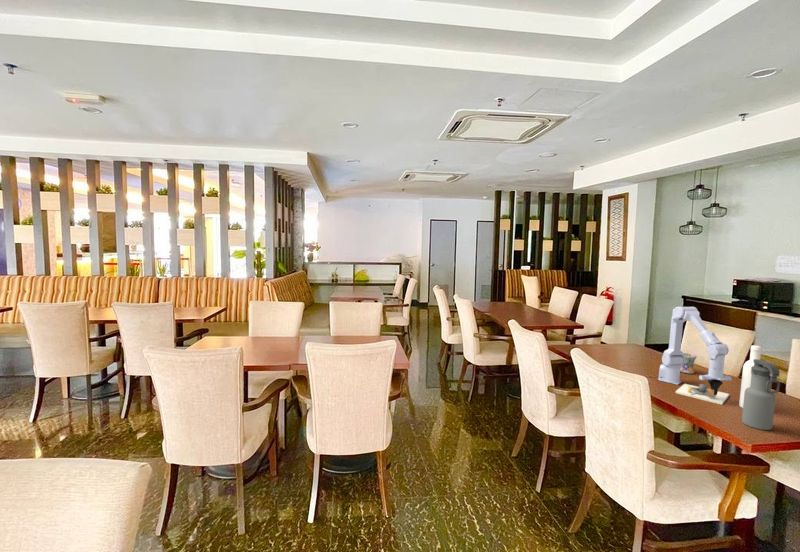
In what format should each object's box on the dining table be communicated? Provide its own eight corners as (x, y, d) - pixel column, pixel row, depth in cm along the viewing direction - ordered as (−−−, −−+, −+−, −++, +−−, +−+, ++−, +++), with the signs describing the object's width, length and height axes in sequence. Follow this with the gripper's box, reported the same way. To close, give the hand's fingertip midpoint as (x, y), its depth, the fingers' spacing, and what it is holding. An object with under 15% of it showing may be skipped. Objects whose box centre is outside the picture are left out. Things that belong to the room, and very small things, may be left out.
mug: (697, 375, 235) (699, 358, 234) (679, 373, 238) (681, 356, 237) (689, 369, 247) (691, 352, 246) (672, 367, 249) (674, 351, 249)
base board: (675, 393, 206) (676, 383, 205) (684, 385, 218) (685, 376, 217) (721, 404, 191) (722, 394, 191) (729, 395, 203) (729, 386, 203)
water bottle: (779, 430, 165) (786, 365, 163) (760, 432, 164) (767, 365, 161) (754, 419, 175) (760, 358, 173) (735, 421, 174) (741, 358, 171)
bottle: (763, 413, 183) (770, 349, 181) (741, 409, 187) (747, 346, 184) (758, 406, 190) (764, 345, 187) (737, 403, 194) (743, 343, 191)
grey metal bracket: (689, 388, 209) (690, 380, 209) (706, 389, 208) (707, 382, 207) (704, 397, 196) (704, 389, 196) (722, 399, 195) (722, 391, 195)
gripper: (707, 369, 192) (705, 396, 193) (737, 370, 192) (735, 397, 193) (696, 365, 199) (694, 391, 200) (725, 365, 199) (723, 392, 200)
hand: (713, 394), depth 197 cm, fingers closed, pressing on grey metal bracket
